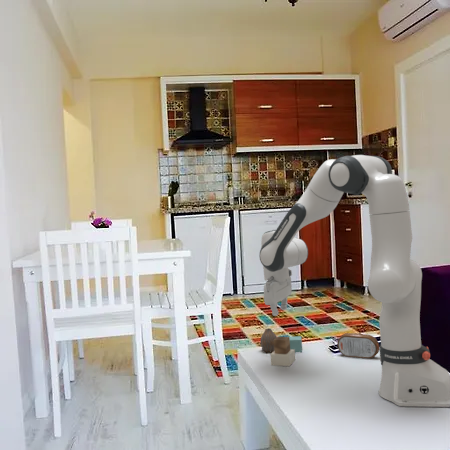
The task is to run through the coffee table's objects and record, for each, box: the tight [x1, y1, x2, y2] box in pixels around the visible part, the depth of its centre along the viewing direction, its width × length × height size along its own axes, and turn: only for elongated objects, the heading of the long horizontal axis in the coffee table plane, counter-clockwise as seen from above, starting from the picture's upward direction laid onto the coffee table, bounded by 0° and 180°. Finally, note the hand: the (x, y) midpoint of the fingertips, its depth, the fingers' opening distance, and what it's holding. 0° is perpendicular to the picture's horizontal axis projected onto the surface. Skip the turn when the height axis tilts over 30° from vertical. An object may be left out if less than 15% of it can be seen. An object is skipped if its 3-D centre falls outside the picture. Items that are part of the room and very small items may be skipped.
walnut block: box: [274, 336, 290, 354], centre depth 185 cm, size 4×4×5 cm
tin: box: [336, 332, 380, 359], centre depth 185 cm, size 15×3×8 cm, turn 58°
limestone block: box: [269, 349, 296, 367], centre depth 186 cm, size 7×7×4 cm
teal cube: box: [288, 335, 303, 354], centre depth 199 cm, size 5×5×5 cm
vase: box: [259, 328, 278, 353], centre depth 201 cm, size 7×7×9 cm
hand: (279, 312), depth 185 cm, fingers open, 8 cm apart
